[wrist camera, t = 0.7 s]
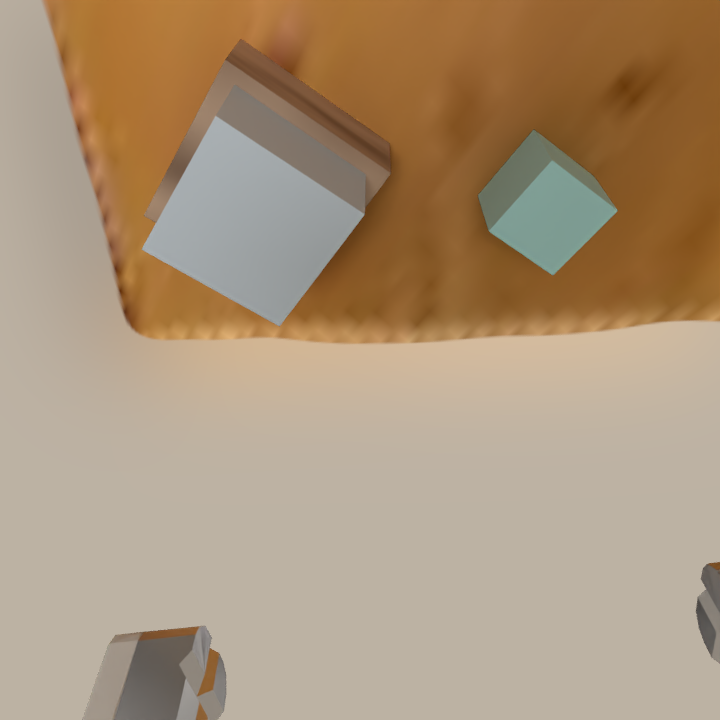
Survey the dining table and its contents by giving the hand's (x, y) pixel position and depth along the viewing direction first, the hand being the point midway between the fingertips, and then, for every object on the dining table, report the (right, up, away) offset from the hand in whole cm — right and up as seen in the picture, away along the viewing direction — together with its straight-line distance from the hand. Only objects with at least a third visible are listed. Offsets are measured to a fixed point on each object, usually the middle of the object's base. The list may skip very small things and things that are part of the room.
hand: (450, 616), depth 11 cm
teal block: (+9, +15, +30) cm, 34 cm away
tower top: (-7, +14, +25) cm, 29 cm away
